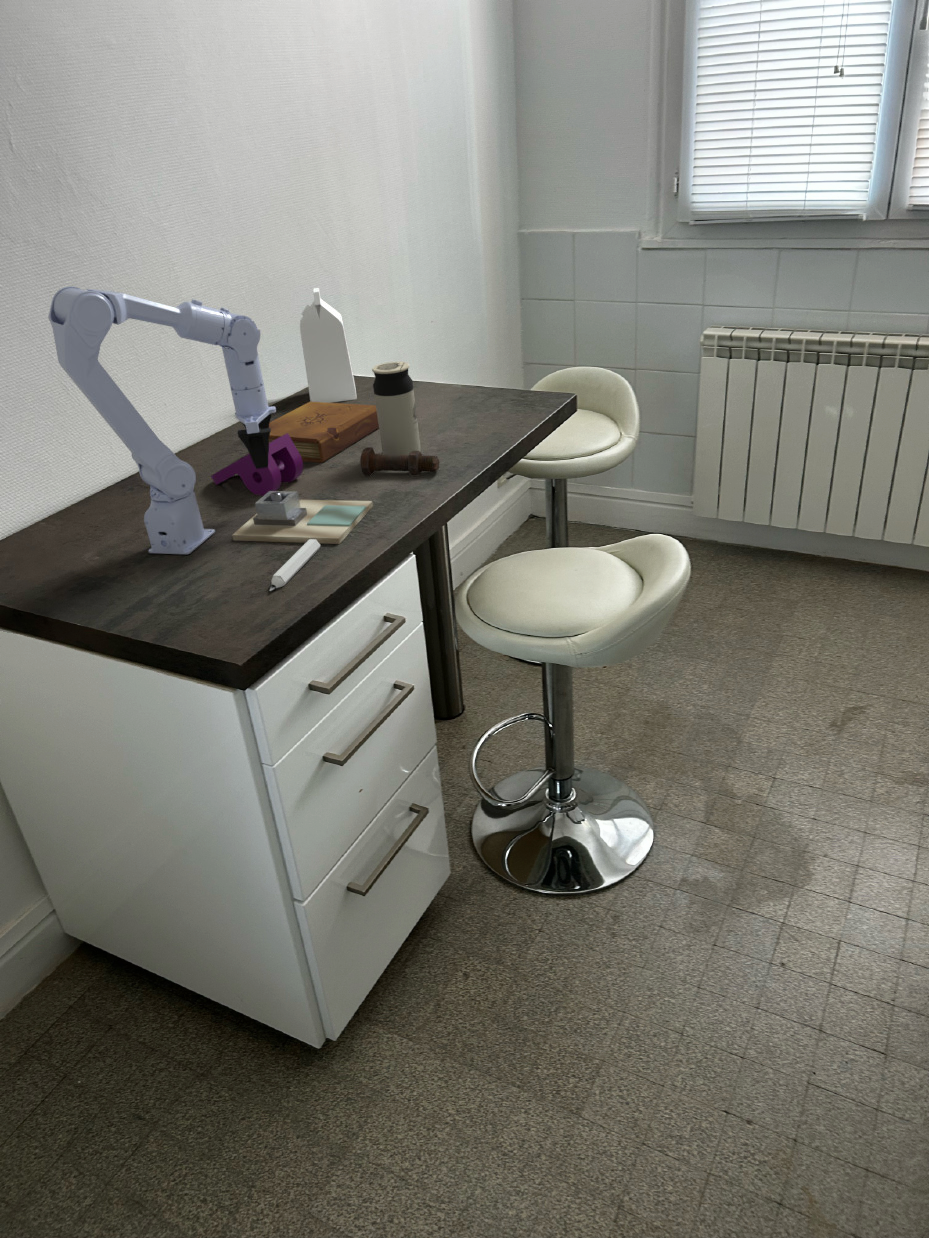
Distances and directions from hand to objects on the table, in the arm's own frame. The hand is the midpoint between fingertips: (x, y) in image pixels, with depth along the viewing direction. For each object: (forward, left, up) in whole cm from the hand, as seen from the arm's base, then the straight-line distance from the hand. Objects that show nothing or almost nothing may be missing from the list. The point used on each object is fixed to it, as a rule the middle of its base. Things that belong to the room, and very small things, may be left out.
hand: (262, 460), depth 165 cm
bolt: (+19, -19, -10) cm, 29 cm away
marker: (-24, -15, -10) cm, 30 cm away
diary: (+38, +7, -10) cm, 40 cm away
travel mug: (+31, -15, -10) cm, 35 cm away
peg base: (-6, -5, -10) cm, 13 cm away
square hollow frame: (-6, -5, -7) cm, 11 cm away
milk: (+73, +18, -10) cm, 75 cm away
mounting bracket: (+12, +10, -10) cm, 19 cm away
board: (-5, -9, -10) cm, 14 cm away
